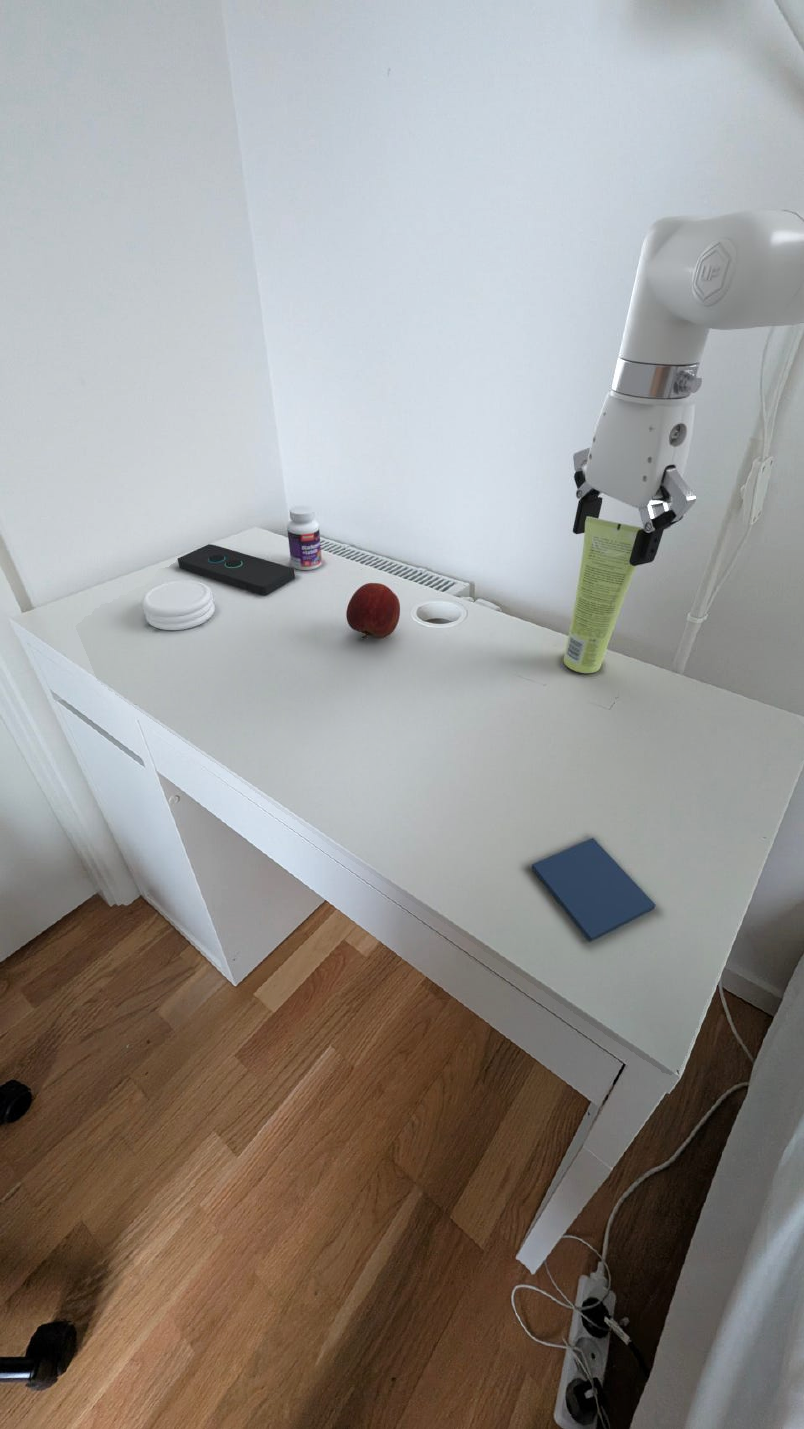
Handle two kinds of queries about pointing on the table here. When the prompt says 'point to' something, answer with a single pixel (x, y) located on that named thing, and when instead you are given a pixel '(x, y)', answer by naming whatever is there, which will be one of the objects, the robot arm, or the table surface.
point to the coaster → (178, 605)
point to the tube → (599, 591)
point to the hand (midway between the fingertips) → (611, 546)
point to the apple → (373, 610)
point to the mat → (592, 888)
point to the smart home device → (237, 569)
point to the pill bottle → (304, 539)
